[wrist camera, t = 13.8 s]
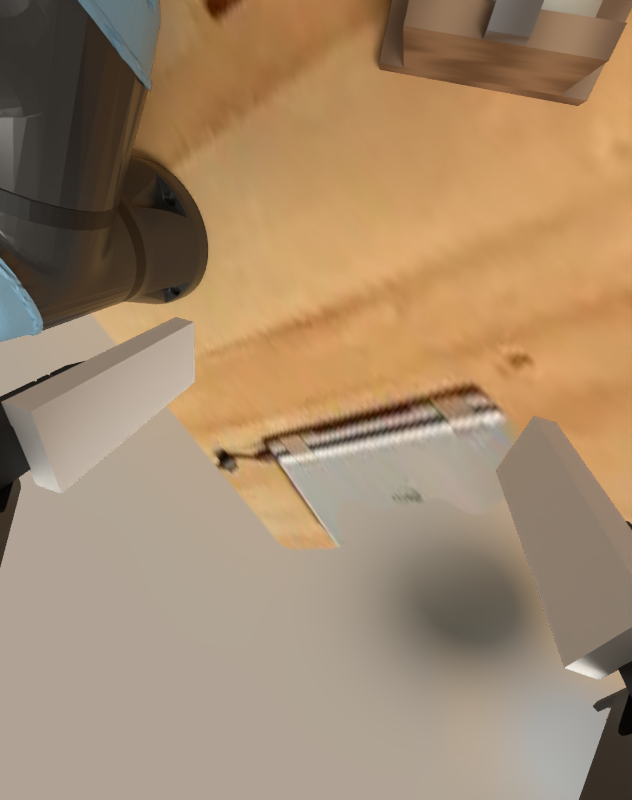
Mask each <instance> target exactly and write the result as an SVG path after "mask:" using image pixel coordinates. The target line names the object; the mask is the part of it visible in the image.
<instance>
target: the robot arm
mask: <svg viewBox="0 0 632 800" xmlns="http://www.w3.org/2000/svg"><path fill="white" fill-rule="evenodd" d="M160 21H161V9H160V2H159V0H0V342H2V341H6V340H9V339H13V338H17V337H21V336H25V335H37V334H39V333H41V331H43V330H45V329H48V328H51V327H54V326H57V325H60V324H62V323H65V322H68V321H71V320H73V319H76V318H79V317H82V316H85V315H87V314H90V313H93V312H96V311H99V310H101V309H104V308H107V307H110V306H113V305H116V304H118V303H121V302H124V301H125V302H136V303H147V304H165V303H170V302H173V301H175V300H178V299H180V298H183V297H185V296H187V295H188V294H190V293H191V292H192V291H193V290H194V289H195V288H196V287H197V286H198V284H199V283H200V281H201V279H202V277H203V275H204V272H205V269H206V265H207V258H208V243H207V235H206V231H205V227H204V223H203V220H202V217H201V215H200V212H199V210H198V208H197V206H196V204H195V202H194V200H193V199H192V197H191V196H190V194H189V193H188V191H187V190H186V189H185V187H184V186H183V185H182V184H181V183H180V181H179V180H178V179H177V178H176V177H174V176H173V175H172V174H171V173H170V172H169V171H167V170H166V169H164V168H163V167H161V166H160V165H158V164H156V163H154V162H152V161H149V160H146V159H142V158H137V157H131V153H132V149H133V145H134V141H135V137H136V133H137V129H138V126H139V122H140V118H141V114H142V110H143V107H144V103H145V99H146V95H147V91H148V90H149V91H151V88H152V81H151V78H150V77H151V71H152V66H153V60H154V54H155V49H156V43H157V38H158V33H159V28H160ZM194 382H195V351H194V322H192V321H188V320H185V319H181V318H177V317H175V318H173V319H171V320H169V321H167V322H165V323H163V324H161V325H159V326H157V327H155V328H153V329H151V330H148V331H146V332H144V333H142V334H140V335H138V336H136V337H134V338H132V339H130V340H128V341H126V342H124V343H122V344H120V345H118V346H116V347H113V348H112V349H109V350H107V351H106V352H103V353H101V354H99V355H97V356H95V357H93V358H91V359H89V360H87V361H83V362H78V363H75V364H70V365H66V366H64V367H62V368H60V369H58V370H56V371H54V372H52V373H50V375H45V376H43V377H41V378H39V379H37V381H36V382H35V381H33V382H30V383H28V384H26V385H24V386H22V387H20V388H18V389H16V390H14V391H11V392H9V393H7V394H5V395H3V396H1V397H0V566H1V562H2V559H3V555H4V551H5V547H6V543H7V539H8V535H9V532H10V528H11V524H12V520H13V516H14V513H15V508H16V505H17V501H18V497H19V493H20V490H21V485H20V480H19V477H20V476H21V475H23V474H24V473H25V472H27V471H28V470H30V471H31V473H32V476H33V478H34V480H35V482H36V485H38V486H41V487H43V488H46V489H49V490H52V491H56V492H58V493H61V494H62V493H63V492H64V491H65V490H66V489H68V488H69V487H70V486H71V485H72V484H74V483H75V482H76V481H77V480H78V479H80V478H81V477H82V476H83V475H84V474H86V473H87V472H88V471H89V470H90V469H91V468H93V467H94V466H95V465H96V464H97V463H98V462H100V461H101V460H102V459H103V458H105V457H106V456H107V455H108V454H109V453H111V452H112V451H113V450H114V449H115V448H117V447H118V446H119V445H120V444H121V443H123V442H124V441H125V440H126V439H127V438H128V437H130V436H131V435H132V434H133V433H134V432H136V430H138V429H139V428H140V427H142V426H143V425H144V424H145V423H146V422H148V421H149V420H150V419H151V418H152V417H154V416H155V415H156V414H157V413H158V412H159V411H161V410H162V409H163V408H164V407H165V406H167V405H168V404H169V403H170V402H171V401H173V400H174V399H175V398H176V397H177V396H179V395H180V394H181V393H182V392H183V391H185V390H186V389H187V388H188V387H189V386H190V385H192V384H193V383H194ZM496 472H497V475H498V478H499V481H500V484H501V486H502V489H503V492H504V495H505V498H506V501H507V504H508V506H509V509H510V512H511V515H512V518H513V521H514V524H515V527H516V530H517V533H518V535H519V538H520V541H521V544H522V547H523V550H524V553H525V556H526V558H527V561H528V564H529V567H530V570H531V573H532V576H533V579H534V582H535V584H536V587H537V590H538V593H539V596H540V599H541V602H542V605H543V607H544V610H545V613H546V616H547V619H548V622H549V624H550V627H551V631H552V633H553V636H554V639H555V642H556V645H557V648H558V651H559V654H560V656H561V659H562V662H563V665H564V668H566V669H569V670H572V671H575V672H578V673H581V674H584V675H586V676H589V677H592V678H595V679H598V680H600V679H602V678H604V677H606V676H607V675H609V674H611V673H613V672H615V671H617V670H619V672H620V674H621V676H622V678H623V680H624V682H625V685H626V688H624V689H622V690H620V691H618V692H616V693H614V694H611V695H610V696H607V697H605V698H603V699H601V700H599V701H597V702H596V703H595V704H594V705H593V707H594V708H595V709H596V710H597V711H598V712H599V711H601V710H603V709H605V708H611V710H610V713H609V716H608V718H607V719H606V720H607V722H606V724H605V727H604V730H603V733H602V736H601V738H600V741H599V744H598V747H597V750H596V753H595V755H594V759H593V761H592V764H591V767H590V770H589V773H588V775H587V778H586V781H585V784H584V787H583V790H582V792H581V795H580V798H579V800H632V524H631V523H630V522H628V521H625V520H624V518H623V517H622V516H621V514H620V513H619V511H618V510H617V508H616V507H615V506H614V504H613V503H612V501H611V500H610V498H609V497H608V496H607V494H606V493H605V491H604V490H603V489H602V487H601V486H600V484H599V483H598V481H597V480H596V479H595V477H594V476H593V474H592V473H591V471H590V470H589V469H588V467H587V466H586V464H585V463H584V461H583V460H582V459H581V457H580V456H579V454H578V453H577V451H576V450H575V449H574V447H573V446H572V444H571V443H570V442H569V440H568V439H567V437H566V436H565V434H564V433H563V432H562V430H561V429H560V427H559V426H558V424H557V423H556V422H554V421H550V420H547V419H543V418H539V417H536V416H533V418H532V419H531V421H530V422H529V423H528V425H527V426H526V428H525V429H524V431H523V432H522V433H521V435H520V436H519V438H518V439H517V441H516V442H515V444H514V445H513V446H512V448H511V449H510V451H509V452H508V454H507V455H506V456H505V458H504V459H503V461H502V462H501V464H500V465H499V467H498V468H497V469H496Z"/></svg>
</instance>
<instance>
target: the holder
mask: <svg viewBox="0 0 632 800" xmlns="http://www.w3.org/2000/svg"><path fill="white" fill-rule="evenodd" d="M631 8H632V0H495V2H493V1H491V0H392V3H391V7H390V12H389V17H388V22H387V27H386V31H385V36H384V41H383V46H382V51H381V55H380V60H379V66H380V70H386V71H391V72H396V73H402V74H407V75H413V76H418V77H424V78H429V79H434V80H440V81H445V82H451V83H456V84H462V85H467V86H473V87H478V88H483V89H489V90H494V91H500V92H505V93H511V94H516V95H521V96H527V97H532V98H538V99H543V100H549V101H554V102H559V103H565V104H570V105H576V106H579V105H580V104H582V103H584V102H585V101H587V99H588V97H589V95H590V93H591V91H592V89H593V87H594V85H595V83H596V81H597V79H598V77H599V75H600V73H601V71H602V68H603V66H604V64H605V63H606V62H607V61H609V59H610V57H611V55H612V53H613V50H614V48H615V46H616V44H617V42H618V40H619V38H620V36H621V34H622V32H623V30H624V28H625V26H626V24H627V23H625V21H626V19H627V17H628V15H629V13H630V11H631Z"/></svg>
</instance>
